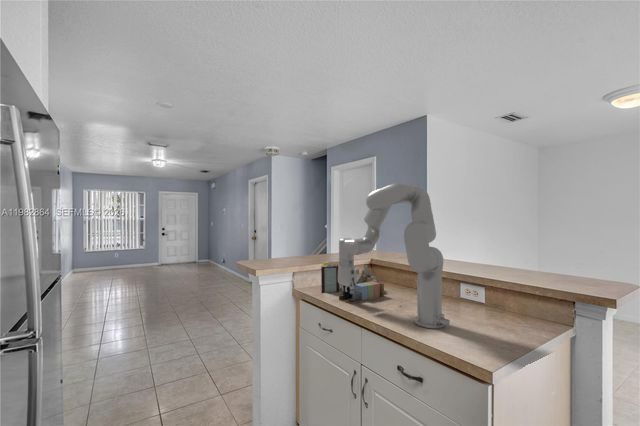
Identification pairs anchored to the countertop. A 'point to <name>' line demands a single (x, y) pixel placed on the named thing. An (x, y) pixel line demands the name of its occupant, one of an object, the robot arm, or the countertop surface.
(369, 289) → the book
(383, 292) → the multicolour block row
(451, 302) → the countertop surface
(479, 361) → the countertop surface
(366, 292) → the book
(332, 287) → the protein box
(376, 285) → the book
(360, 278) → the ceramic cottage
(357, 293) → the dark grey block
